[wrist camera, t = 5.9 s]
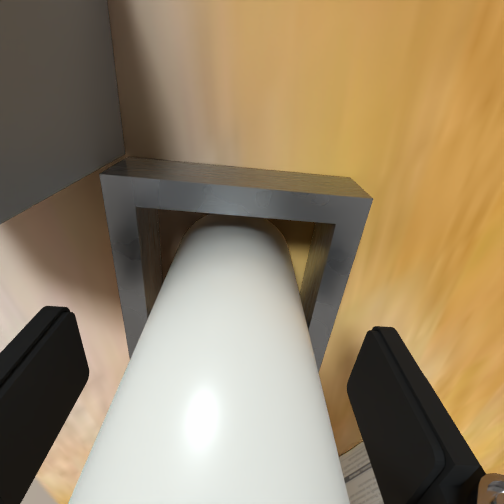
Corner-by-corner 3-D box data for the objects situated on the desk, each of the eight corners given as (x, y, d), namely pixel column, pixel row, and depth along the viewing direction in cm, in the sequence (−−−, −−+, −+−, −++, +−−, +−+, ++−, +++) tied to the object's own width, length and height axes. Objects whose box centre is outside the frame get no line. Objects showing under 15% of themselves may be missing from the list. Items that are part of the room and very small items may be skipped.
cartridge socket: (350, 177, 12) (373, 198, 10) (308, 335, 16) (318, 374, 14) (127, 156, 11) (99, 174, 9) (146, 325, 16) (130, 363, 13)
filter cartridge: (298, 214, 13) (453, 622, 3) (281, 307, 15) (335, 686, 6) (176, 204, 12) (-72, 618, 3) (180, 300, 15) (57, 687, 5)
